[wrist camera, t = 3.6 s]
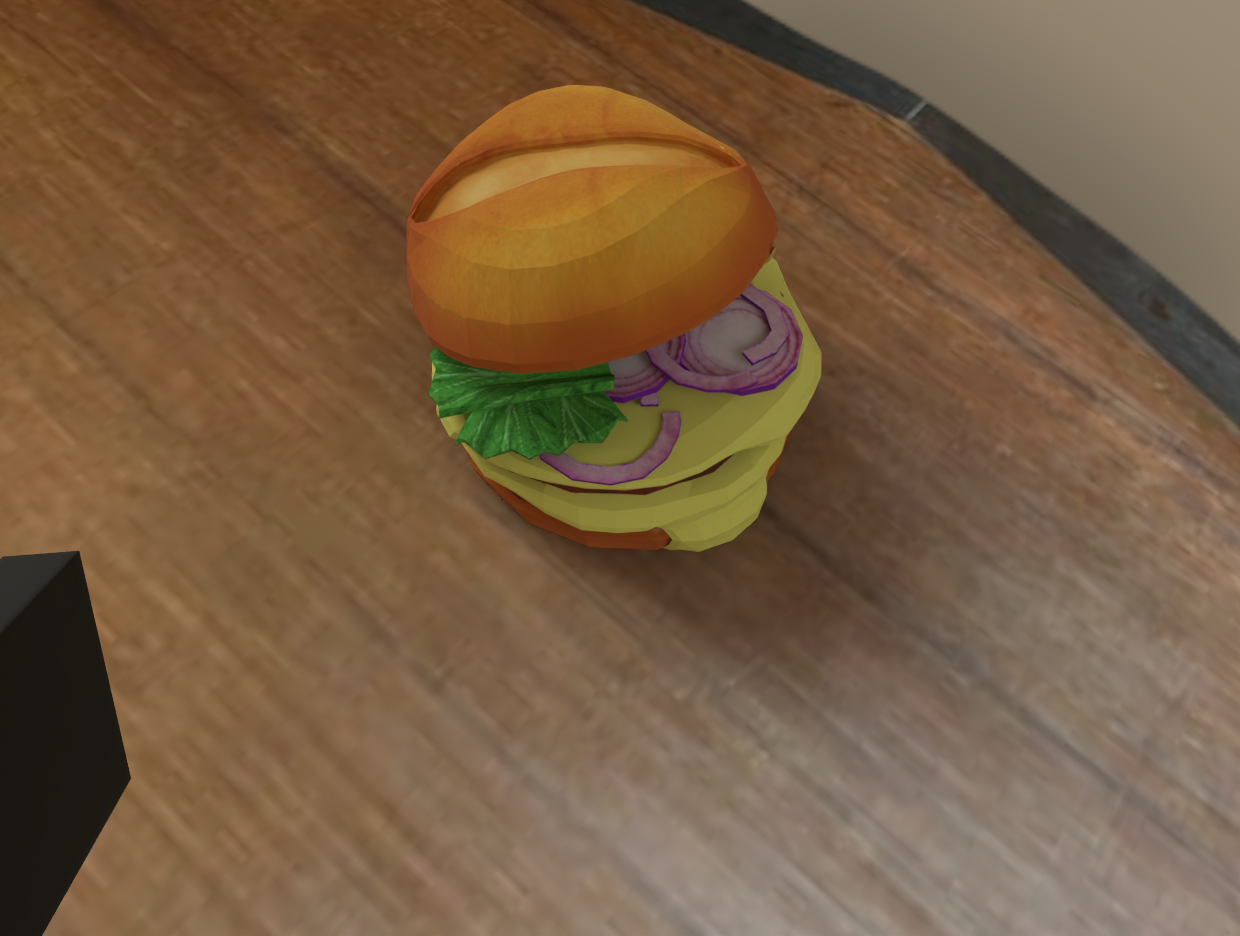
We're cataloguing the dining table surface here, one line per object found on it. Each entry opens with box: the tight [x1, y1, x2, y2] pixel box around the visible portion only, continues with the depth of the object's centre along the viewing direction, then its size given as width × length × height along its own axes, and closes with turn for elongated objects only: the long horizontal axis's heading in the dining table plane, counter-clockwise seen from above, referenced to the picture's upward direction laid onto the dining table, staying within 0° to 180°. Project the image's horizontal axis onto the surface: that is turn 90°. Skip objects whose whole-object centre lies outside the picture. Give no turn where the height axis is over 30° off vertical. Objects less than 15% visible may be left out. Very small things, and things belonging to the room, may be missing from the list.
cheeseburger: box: [406, 85, 822, 552], centre depth 29 cm, size 10×11×10 cm
